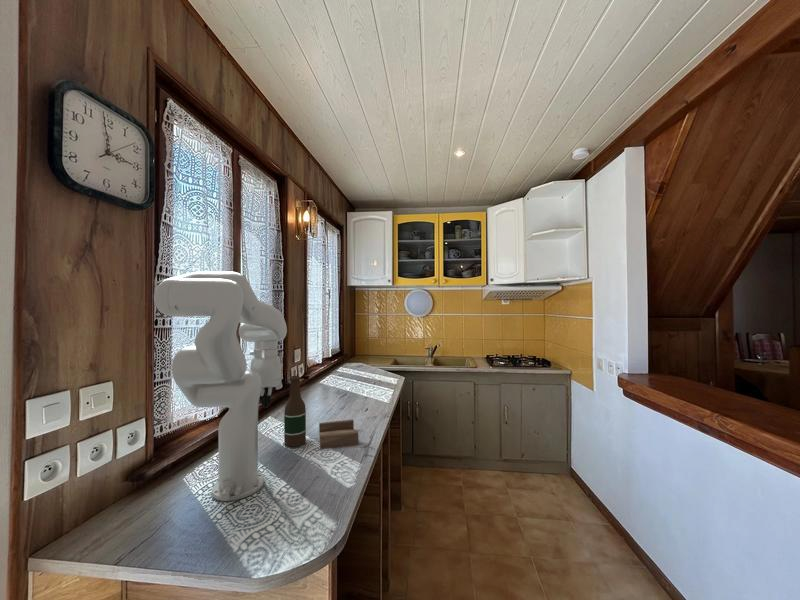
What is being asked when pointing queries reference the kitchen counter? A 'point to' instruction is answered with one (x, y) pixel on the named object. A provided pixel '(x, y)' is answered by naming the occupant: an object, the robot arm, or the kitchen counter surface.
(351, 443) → the block
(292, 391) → the beer bottle
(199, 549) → the kitchen counter surface
